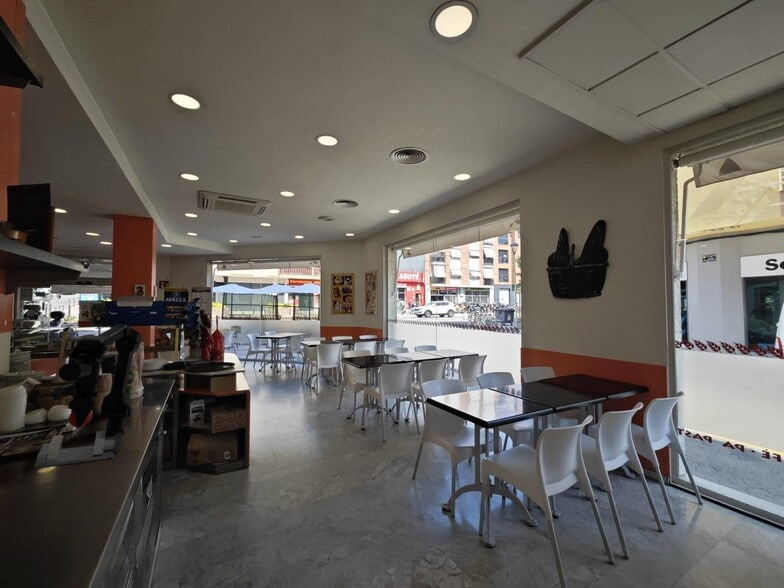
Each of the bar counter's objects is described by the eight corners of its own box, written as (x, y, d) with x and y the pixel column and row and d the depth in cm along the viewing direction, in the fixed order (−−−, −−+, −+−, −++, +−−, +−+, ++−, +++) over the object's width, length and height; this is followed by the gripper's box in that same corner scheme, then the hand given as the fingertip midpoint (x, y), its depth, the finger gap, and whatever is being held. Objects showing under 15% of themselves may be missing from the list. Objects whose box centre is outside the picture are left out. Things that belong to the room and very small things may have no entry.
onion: (76, 432, 112) (80, 407, 113) (62, 429, 113) (66, 404, 114) (94, 427, 118) (98, 403, 119) (81, 424, 119) (85, 401, 120)
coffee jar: (107, 413, 161) (114, 372, 163) (129, 412, 166) (135, 372, 167) (104, 419, 153) (111, 376, 155) (127, 418, 158) (133, 376, 159)
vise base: (41, 454, 114) (44, 435, 115) (114, 446, 126) (117, 429, 127) (34, 468, 105) (37, 447, 106) (114, 458, 117) (117, 439, 117)
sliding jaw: (94, 446, 121) (96, 431, 122) (119, 443, 126) (122, 429, 126) (92, 455, 114) (95, 439, 115) (119, 452, 119) (122, 436, 119)
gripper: (58, 371, 120) (50, 418, 118) (50, 382, 105) (40, 435, 104) (100, 371, 126) (93, 415, 125) (98, 381, 112) (90, 431, 110)
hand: (79, 423), depth 116 cm, fingers closed on onion, 6 cm apart
